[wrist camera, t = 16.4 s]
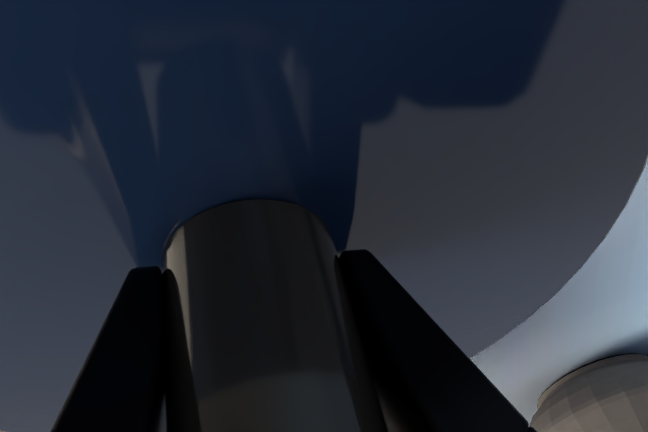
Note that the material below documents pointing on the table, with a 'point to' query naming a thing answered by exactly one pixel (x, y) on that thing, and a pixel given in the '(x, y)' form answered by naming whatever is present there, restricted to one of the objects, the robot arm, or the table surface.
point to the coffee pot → (598, 398)
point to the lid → (299, 184)
